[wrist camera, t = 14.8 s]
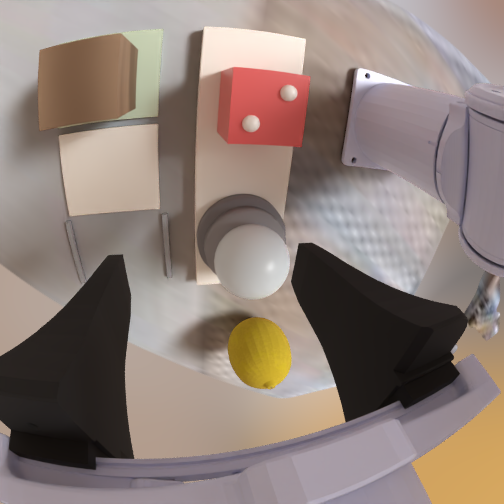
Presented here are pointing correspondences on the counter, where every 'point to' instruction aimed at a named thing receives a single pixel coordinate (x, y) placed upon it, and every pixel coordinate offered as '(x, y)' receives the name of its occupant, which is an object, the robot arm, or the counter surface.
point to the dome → (247, 252)
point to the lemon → (259, 353)
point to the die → (262, 107)
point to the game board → (206, 150)
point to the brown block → (86, 81)
